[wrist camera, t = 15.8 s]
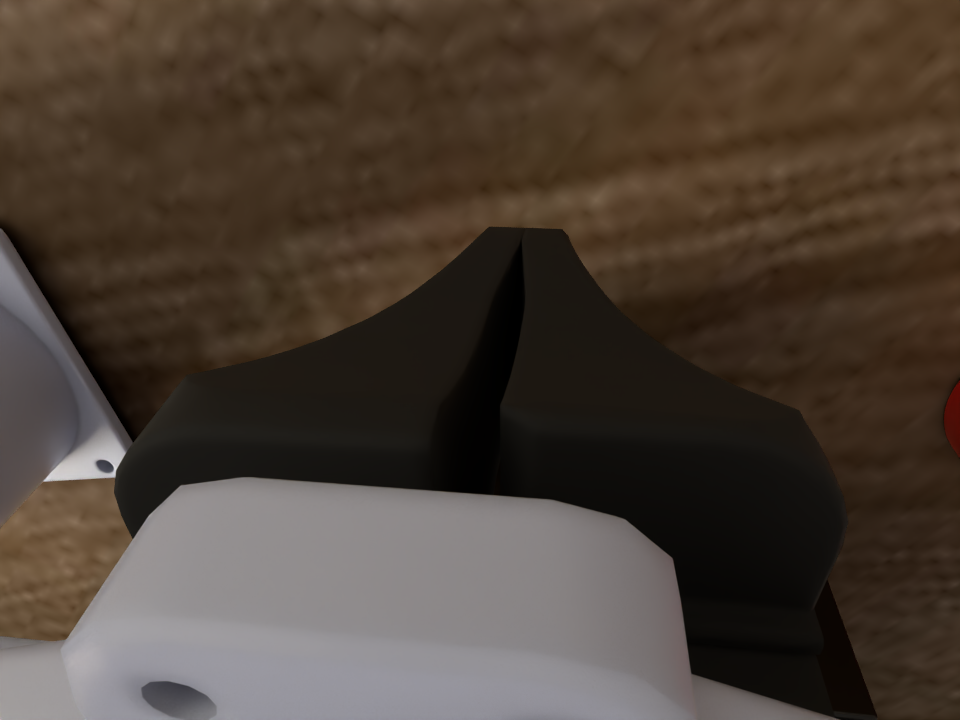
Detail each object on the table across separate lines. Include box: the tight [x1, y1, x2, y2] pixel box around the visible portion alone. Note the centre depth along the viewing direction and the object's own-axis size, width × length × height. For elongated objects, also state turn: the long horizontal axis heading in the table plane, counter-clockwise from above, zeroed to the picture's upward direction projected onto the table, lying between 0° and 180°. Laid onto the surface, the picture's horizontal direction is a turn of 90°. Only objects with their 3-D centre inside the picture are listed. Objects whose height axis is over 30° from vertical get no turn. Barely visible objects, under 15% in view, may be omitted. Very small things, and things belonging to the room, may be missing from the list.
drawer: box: [493, 463, 877, 720], centre depth 17 cm, size 18×12×6 cm
